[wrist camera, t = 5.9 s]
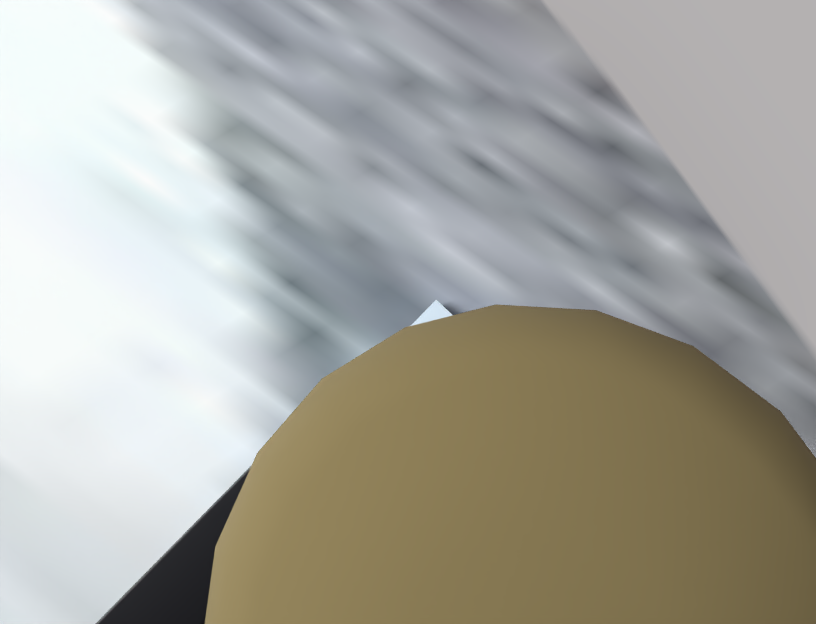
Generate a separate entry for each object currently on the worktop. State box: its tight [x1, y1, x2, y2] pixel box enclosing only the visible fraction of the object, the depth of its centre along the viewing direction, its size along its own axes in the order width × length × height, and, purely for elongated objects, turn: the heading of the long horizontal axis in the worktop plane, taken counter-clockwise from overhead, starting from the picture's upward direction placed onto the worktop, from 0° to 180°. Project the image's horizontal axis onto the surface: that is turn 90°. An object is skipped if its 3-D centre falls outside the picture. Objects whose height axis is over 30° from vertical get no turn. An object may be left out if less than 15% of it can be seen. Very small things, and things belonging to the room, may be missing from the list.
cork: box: [205, 305, 816, 624], centre depth 10 cm, size 6×6×11 cm
